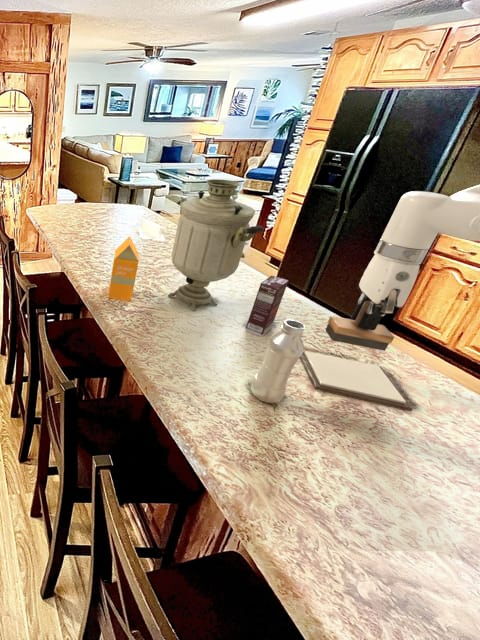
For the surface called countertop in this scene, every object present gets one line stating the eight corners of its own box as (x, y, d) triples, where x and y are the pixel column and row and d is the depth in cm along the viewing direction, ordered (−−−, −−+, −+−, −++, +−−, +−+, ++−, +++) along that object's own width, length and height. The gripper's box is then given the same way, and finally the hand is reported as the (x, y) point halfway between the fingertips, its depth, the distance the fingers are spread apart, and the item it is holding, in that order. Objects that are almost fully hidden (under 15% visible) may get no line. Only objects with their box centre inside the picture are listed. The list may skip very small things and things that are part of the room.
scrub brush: (376, 339, 93) (395, 302, 88) (386, 351, 88) (407, 314, 84) (324, 329, 96) (340, 294, 91) (331, 340, 91) (349, 304, 87)
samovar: (266, 325, 118) (316, 195, 100) (181, 324, 117) (216, 193, 100) (216, 282, 144) (248, 173, 127) (147, 281, 144) (169, 172, 126)
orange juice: (107, 298, 132) (116, 243, 123) (109, 286, 139) (117, 234, 130) (131, 301, 130) (142, 246, 121) (131, 290, 137) (141, 237, 128)
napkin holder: (137, 229, 200) (139, 218, 197) (160, 230, 198) (163, 220, 195) (141, 238, 187) (143, 227, 184) (165, 240, 185) (168, 229, 182)
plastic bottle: (279, 393, 91) (311, 321, 82) (281, 411, 85) (315, 336, 77) (248, 383, 94) (275, 312, 85) (248, 400, 88) (277, 327, 80)
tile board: (379, 368, 100) (381, 364, 99) (411, 411, 86) (414, 406, 86) (297, 351, 106) (299, 347, 105) (315, 389, 92) (317, 384, 92)
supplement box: (254, 320, 120) (271, 274, 113) (272, 327, 117) (290, 280, 110) (243, 330, 115) (260, 282, 108) (261, 337, 112) (279, 288, 105)
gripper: (445, 268, 74) (399, 347, 82) (403, 241, 87) (367, 311, 96) (396, 262, 76) (356, 339, 84) (362, 236, 90) (330, 305, 98)
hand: (362, 323), depth 90 cm, fingers closed on scrub brush, 2 cm apart
